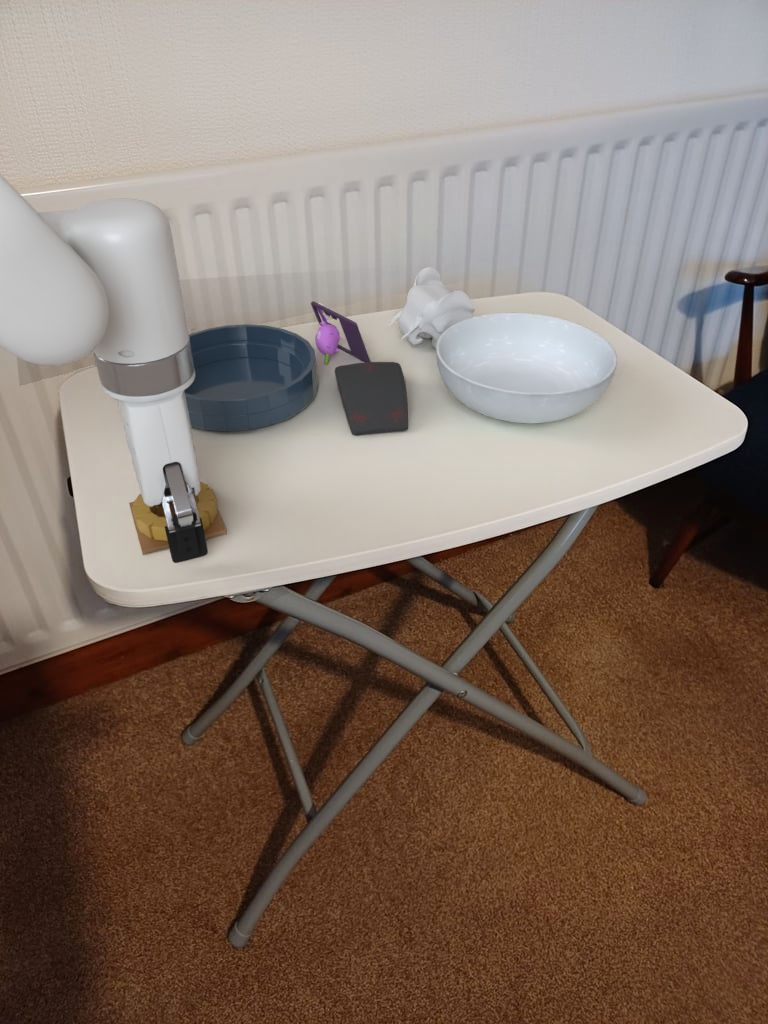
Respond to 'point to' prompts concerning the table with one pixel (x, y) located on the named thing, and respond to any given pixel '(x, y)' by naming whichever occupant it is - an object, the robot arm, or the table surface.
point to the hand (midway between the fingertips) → (180, 527)
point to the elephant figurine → (431, 308)
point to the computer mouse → (373, 397)
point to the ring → (156, 525)
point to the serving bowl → (525, 366)
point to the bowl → (249, 377)
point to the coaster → (153, 545)
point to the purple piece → (338, 335)
